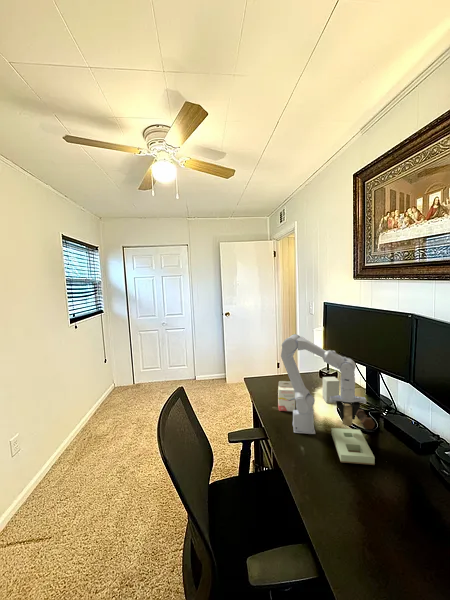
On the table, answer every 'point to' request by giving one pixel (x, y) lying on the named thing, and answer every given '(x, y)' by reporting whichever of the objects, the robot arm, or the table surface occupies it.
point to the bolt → (365, 419)
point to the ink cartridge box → (286, 396)
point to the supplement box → (330, 388)
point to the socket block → (352, 446)
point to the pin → (347, 415)
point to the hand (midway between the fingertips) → (347, 418)
